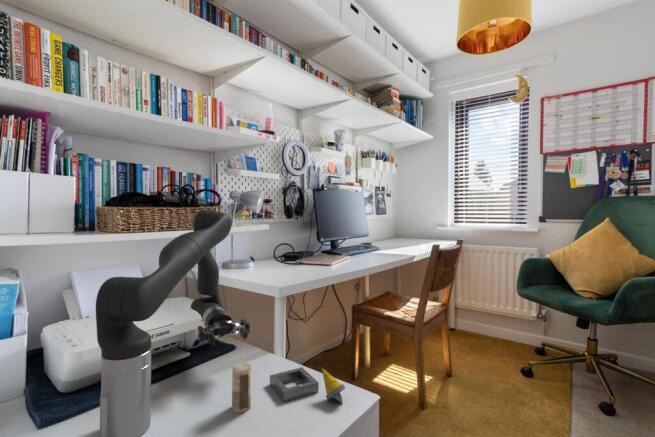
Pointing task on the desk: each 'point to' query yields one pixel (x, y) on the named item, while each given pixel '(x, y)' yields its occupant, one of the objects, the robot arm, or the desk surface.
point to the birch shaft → (241, 387)
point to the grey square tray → (295, 391)
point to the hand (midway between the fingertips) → (230, 338)
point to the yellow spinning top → (332, 387)
